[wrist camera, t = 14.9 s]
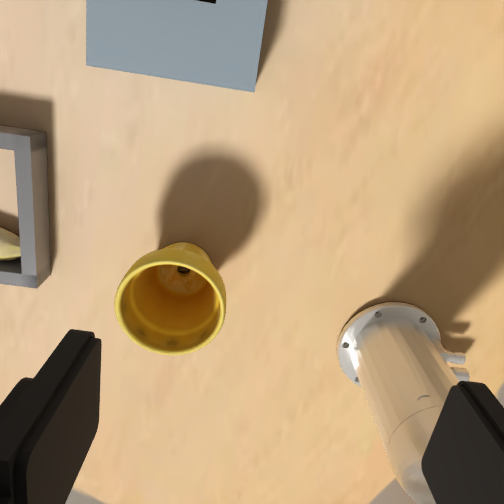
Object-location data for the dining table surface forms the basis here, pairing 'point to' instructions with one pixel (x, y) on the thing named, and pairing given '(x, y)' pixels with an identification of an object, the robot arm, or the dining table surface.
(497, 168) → the dining table surface
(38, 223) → the tray
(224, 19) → the hole block
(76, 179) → the dining table surface
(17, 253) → the fruit
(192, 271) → the plant pot
